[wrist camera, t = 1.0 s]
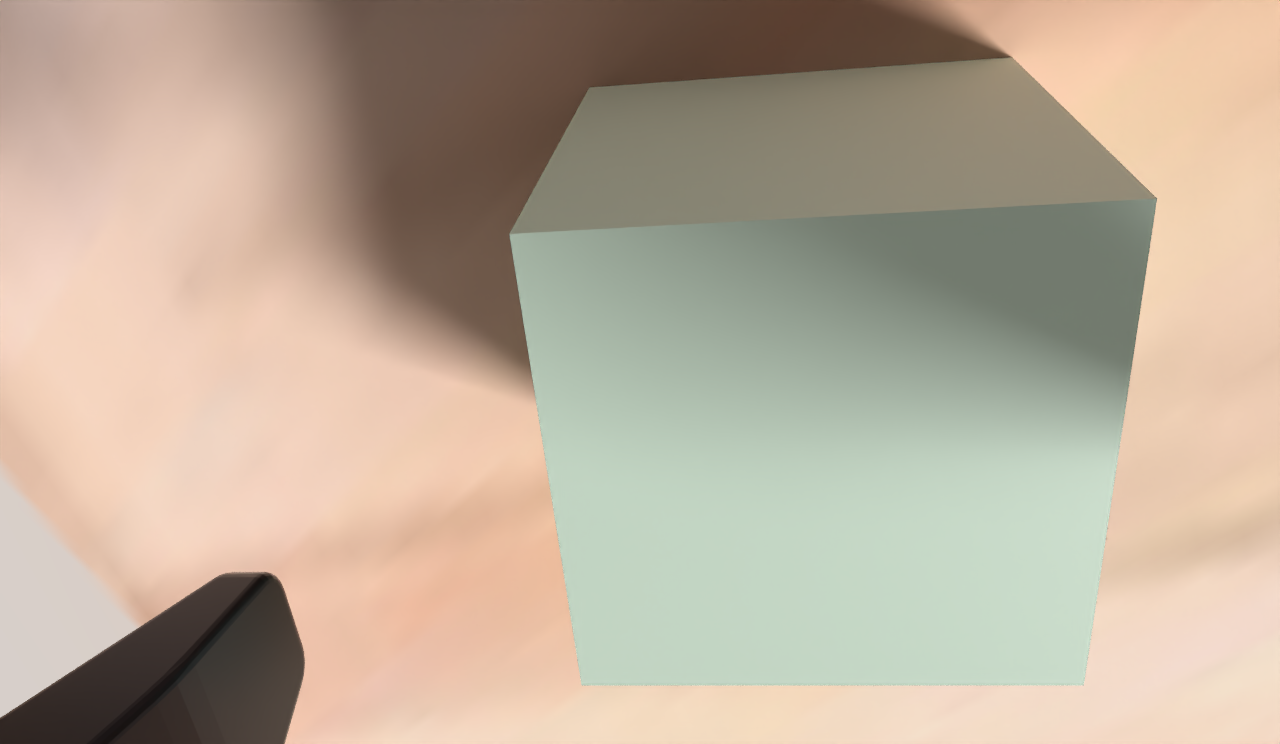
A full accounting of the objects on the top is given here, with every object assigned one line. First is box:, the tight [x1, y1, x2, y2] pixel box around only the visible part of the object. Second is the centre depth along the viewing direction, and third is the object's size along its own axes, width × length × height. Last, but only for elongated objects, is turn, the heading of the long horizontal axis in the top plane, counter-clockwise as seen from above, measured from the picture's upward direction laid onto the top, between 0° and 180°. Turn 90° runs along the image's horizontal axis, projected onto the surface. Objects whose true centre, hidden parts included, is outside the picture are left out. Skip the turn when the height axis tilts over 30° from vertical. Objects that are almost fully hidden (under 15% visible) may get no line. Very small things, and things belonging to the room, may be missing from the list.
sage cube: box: [509, 57, 1157, 685], centre depth 12 cm, size 5×5×5 cm
